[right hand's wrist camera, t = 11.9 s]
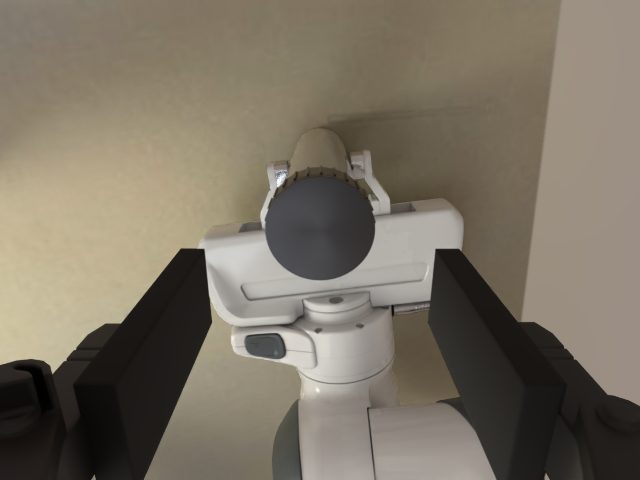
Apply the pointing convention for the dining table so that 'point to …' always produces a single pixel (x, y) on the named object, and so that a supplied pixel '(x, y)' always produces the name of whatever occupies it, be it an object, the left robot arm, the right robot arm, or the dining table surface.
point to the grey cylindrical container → (320, 152)
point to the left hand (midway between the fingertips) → (318, 157)
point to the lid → (320, 224)
